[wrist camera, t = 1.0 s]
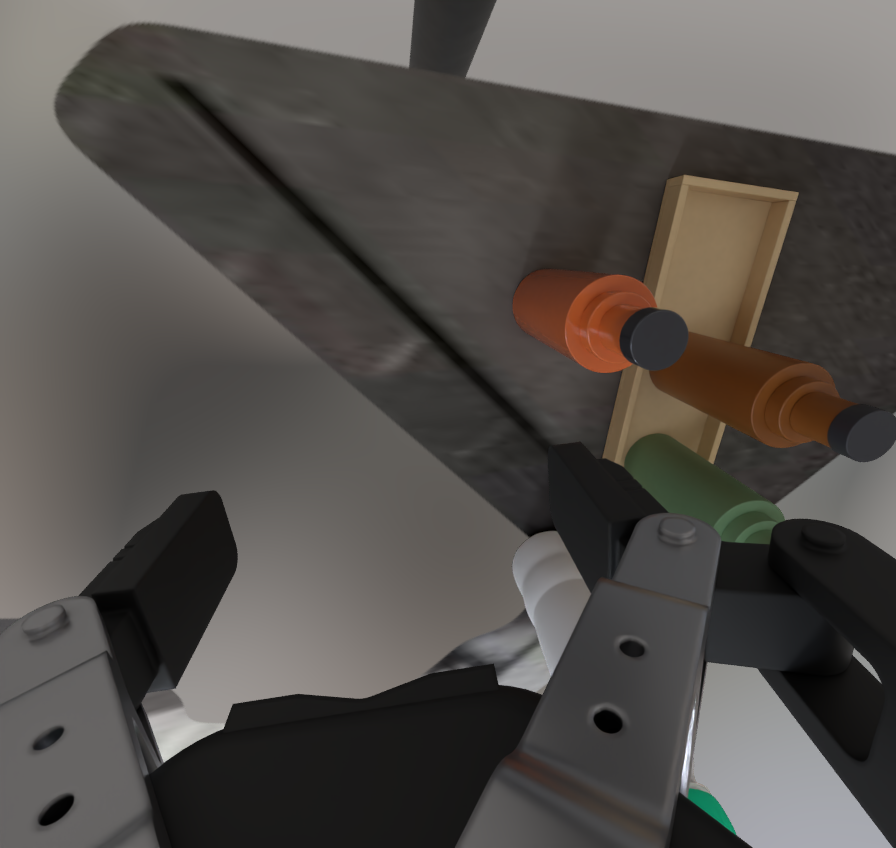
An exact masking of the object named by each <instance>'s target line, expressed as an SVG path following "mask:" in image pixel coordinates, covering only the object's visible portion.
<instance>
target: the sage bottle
mask: <svg viewBox="0 0 896 848" xmlns="http://www.w3.org/2000/svg"><path fill="white" fill-rule="evenodd" d="M624 468H625V469H626V470H627V471H628V472H629V473H630V474H631V475H632V476H633V479H636V480H637V481H638V482H639V483H640V484H641V485H642V488H645V489H646V490H647V491H648V492H649V493H650V494H651V495H652V496H653V497H654V498H655V499H656V500H657V501H658V502H659V503H660V504H661V505H662V506H663V507H664V508H665V509H666V510H667V511H668V512H669V513H677V514H683V515H687V516H691V517H694V518H697V519H700V520H702V521H704V522H706V523H707V524H709V525H710V526H712V527H713V528H714V529H715V530H716V531H717V532H718V534H719V535H720V538H721V541H726V542H738V543H756V544H770V540H771V533H772V529H773V527H774V526H775V525H776V524H778V523H780V522H782V521H785V519H784V516H783V514H782V512H781V511H780V509H779V508H778V507H777V506H776V505H774V504H773V503H771V502H770V501H768V500H767V499H765V498H764V497H762V496H761V495H759V494H758V493H756V492H755V491H753V490H751V489H750V488H748V487H747V486H745V485H744V484H742V483H741V482H739V481H738V480H736V479H735V478H733V477H732V476H730V475H729V474H727V473H726V472H724V471H723V470H721V469H720V468H718V467H716V466H715V465H713V464H712V463H710V462H709V461H707V460H706V459H704V458H703V457H701V456H700V455H698V454H697V453H695V452H694V451H692V450H691V449H689V448H688V447H686V446H685V445H683V444H681V443H680V442H678V441H677V440H675V439H674V438H672V437H671V436H669V435H666V434H660V433H657V434H650V435H647V436H645V437H643V438H641V439H639V440H638V441H637V442H635V443H634V444H633V445H632V447H631V448H630V449H629V451H628V453H627V455H626V457H625V461H624Z"/></svg>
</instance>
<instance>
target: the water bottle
mask: <svg viewBox="0 0 896 848" xmlns="http://www.w3.org/2000/svg"><path fill="white" fill-rule="evenodd" d="M512 571H513V575H514V578H515V581H516V584H517V586H518V588H519V590H520V592H521V594H522V596H523V598H524V603H525V607H526V610H527V613H528V615H529V617H530V619H531V621H532V623H533V625H534V626H535V628H536V632H537V636H538V639H539V643H540V646H541V649H542V652H543V655H544V658H545V661H546V663H547V666H548V669H549V672H550V674H551V676H552V674H553V672H554V670H555V668H556V666H557V664H558V662H559V659H560V657H561V655H562V653H563V651H564V649H565V647H566V645H567V643H568V641H569V639H570V637H571V634H572V632H573V630H574V628H575V626H576V624H577V622H578V620H579V618H580V616H581V614H582V612H583V609H584V607H585V605H586V603H587V601H588V599H589V597H590V595H591V593H590V591H589V589H588V587H587V585H586V584H585V582H584V580H583V578H582V576H581V574H580V572H579V571H578V569H577V567H576V565H575V563H574V561H573V560H572V558H571V556H570V554H569V552H568V550H567V548H566V547H565V545H564V543H563V541H562V539H561V537H560V535H559V534H558V532H557V531H546V532H541V533H538V534H536V535H533V536H532V537H530V538H528V539H527V540H526V541H525V542H523V543H522V545H521V546H520V547H519V548H518V550H517V551H516V553H515V556H514V559H513V563H512ZM688 799H689V800H691V801H692V802H693V803H695V804H696V805H697V806H699V807H700V808H701V809H702V810H704V811H705V812H706V813H708V814H709V815H710V816H712V817H713V818H714V819H716V820H717V821H718V822H720V823H721V824H722V825H724V826H725V827H726V828H727V829H729V830H730V831H731V832H733V833H734V834H735V835H736V832H735V830H734V828H733V826H732V824H731V822H730V820H729V818H728V817H727V815H726V813H725V811H724V810H723V808H722V807H721V805H720V804H719V802H718V801H717V800H716V799H715V798H714V797H713V796H712V795H711V793H710V791H709V790H708V789H707V788H706V787H705V786H703V785H701V784H699V783H697V782H696V780H695V778H694V758H693V761H692V769H691V777H690V784H689V792H688Z"/></svg>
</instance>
